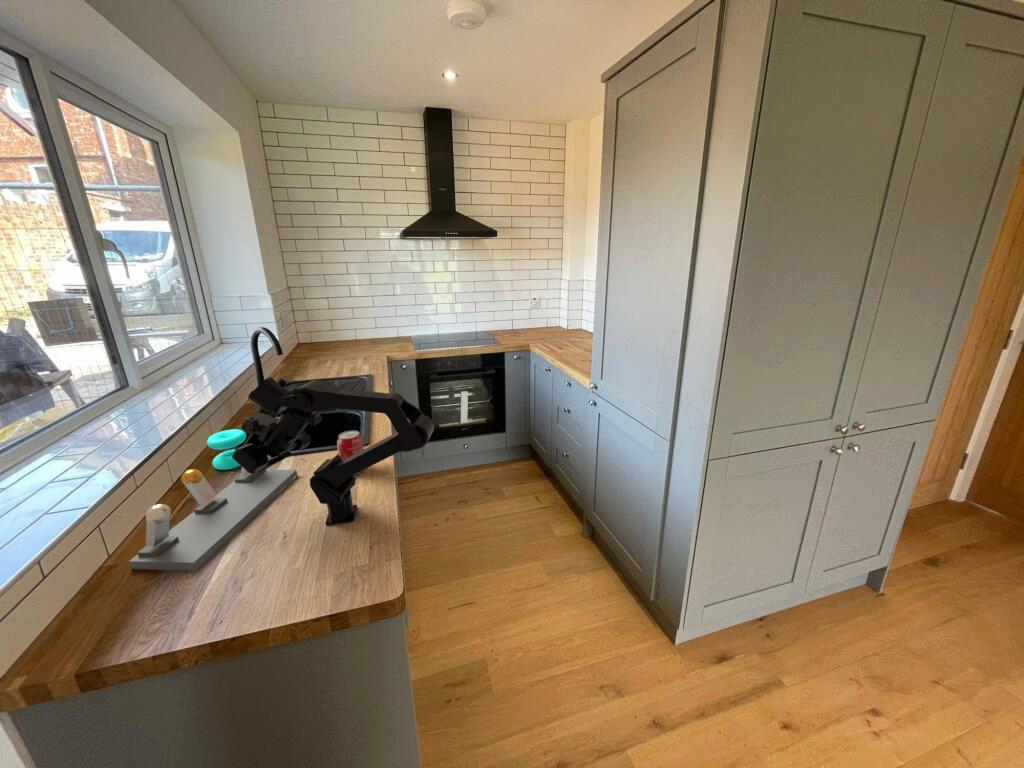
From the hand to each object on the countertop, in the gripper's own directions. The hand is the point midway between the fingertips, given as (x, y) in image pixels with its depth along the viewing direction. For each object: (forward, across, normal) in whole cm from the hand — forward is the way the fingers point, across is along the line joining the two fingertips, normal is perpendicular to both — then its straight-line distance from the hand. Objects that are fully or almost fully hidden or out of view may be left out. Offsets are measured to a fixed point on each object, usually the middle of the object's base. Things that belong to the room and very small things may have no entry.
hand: (258, 471), depth 98 cm
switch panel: (+16, 0, 0) cm, 16 cm away
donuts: (+28, -23, -18) cm, 40 cm away
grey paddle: (+16, -14, -8) cm, 22 cm away
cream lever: (+16, +16, -2) cm, 23 cm away
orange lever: (+16, +1, -5) cm, 17 cm away
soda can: (+1, -25, +14) cm, 28 cm away
